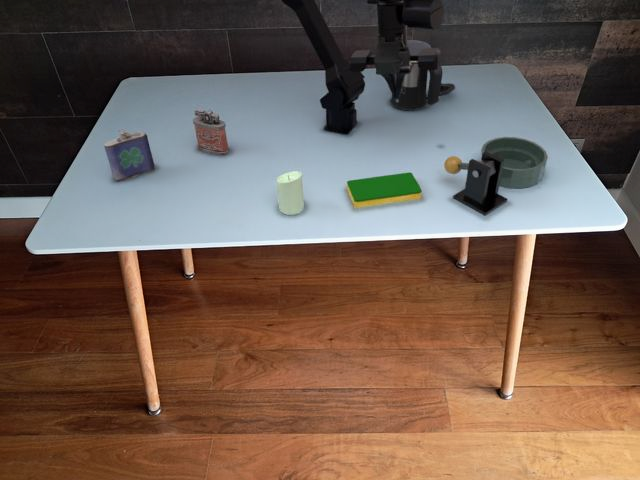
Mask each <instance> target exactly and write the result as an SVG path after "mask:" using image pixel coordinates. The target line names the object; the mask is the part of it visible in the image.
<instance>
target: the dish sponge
mask: <svg viewBox="0 0 640 480" xmlns="http://www.w3.org/2000/svg"><path fill="white" fill-rule="evenodd" d="M346 190H347V192H348V195H349V198H350V199H351V203H352V205H353V208H354V209H355V210H358V209H359V208H363V207H365V208H366V207H372V206H379V205H385V204H392V203H400V202H407V201H413V200H420V199H422V188H421V186H420V184H419V183H418V180H416V178H415V176H414V174H413V172H410V171H409V172H402V173H401V172H400V173H395V174H388V175H380V176H373V177H366V178H358V179H351V180H350V179H349V180H347V181H346Z"/></svg>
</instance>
